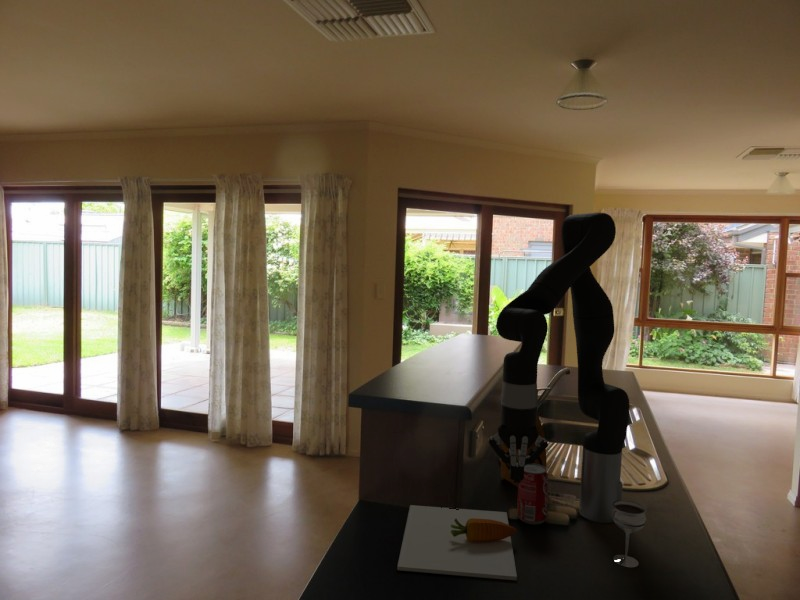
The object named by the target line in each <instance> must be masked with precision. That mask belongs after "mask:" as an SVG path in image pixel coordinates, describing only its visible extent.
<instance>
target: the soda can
mask: <svg viewBox="0 0 800 600" xmlns="http://www.w3.org/2000/svg"><path fill="white" fill-rule="evenodd" d="M548 493H549V474H548V472H547V466H546V467H544V466H542V465H539V464H534V463H532V464H526V465H525V466H524V479H523V480H521V483H518V487H517V502H516V503H517V506H516V507H517V508H516V510H517V511H516V513H517V514H516V515H517V517H518V518H519V519H520V521H521V522H523V523H525V524H527V525H532V526H533V525H535V526H536V525H542V524H543V523H544V522H545V521H546V520H547V518H548V497H549V496H548Z"/></svg>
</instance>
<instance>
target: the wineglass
mask: <svg viewBox="0 0 800 600" xmlns="http://www.w3.org/2000/svg"><path fill="white" fill-rule="evenodd" d="M613 507H614V508H613V511H612V518H613V521H614V522H613V523H614V524H615V525H616V526H617V527H618V528H619V529H620V530H623V532H624V533H625V546H624V547H625V548H624V549H625V554H616V555H615V556H613V560H614V562H615V563H616V564H618V565H620V566H623V567H626V568H636V567H638V566H639V562H638V560H637V559H636V558H635V557H633V556H630V555H628V552H629V541H630V534H632V533H635V532H639V530H642V529H643V528H644V527H645V525H646V523H647V522H646V521H647V517H646V516H647V515H646V514H645V513H646V512H647V508H646V507H645V505H643V504H641V503H639V502H636V501H633V500H627V499H622V500H618V501H615V502H613Z"/></svg>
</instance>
